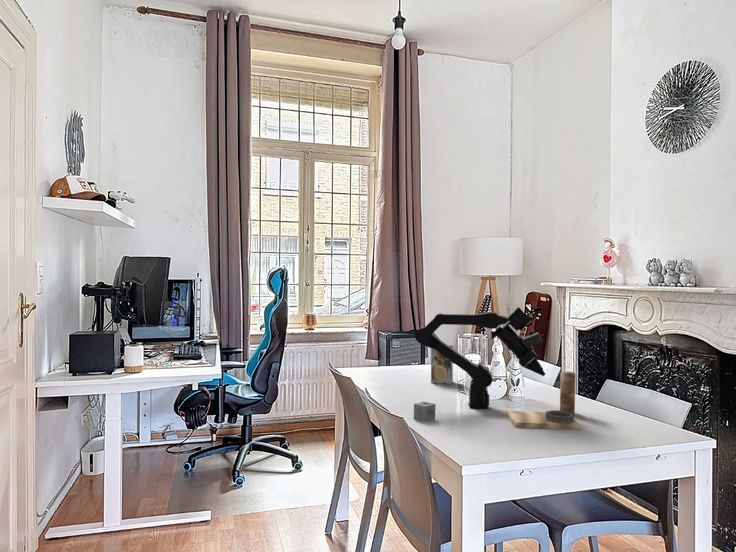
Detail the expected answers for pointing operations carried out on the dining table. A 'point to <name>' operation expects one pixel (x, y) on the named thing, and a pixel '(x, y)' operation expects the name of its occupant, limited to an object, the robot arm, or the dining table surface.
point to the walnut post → (567, 392)
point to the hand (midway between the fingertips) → (543, 372)
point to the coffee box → (441, 368)
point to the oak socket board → (543, 419)
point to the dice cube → (424, 411)
